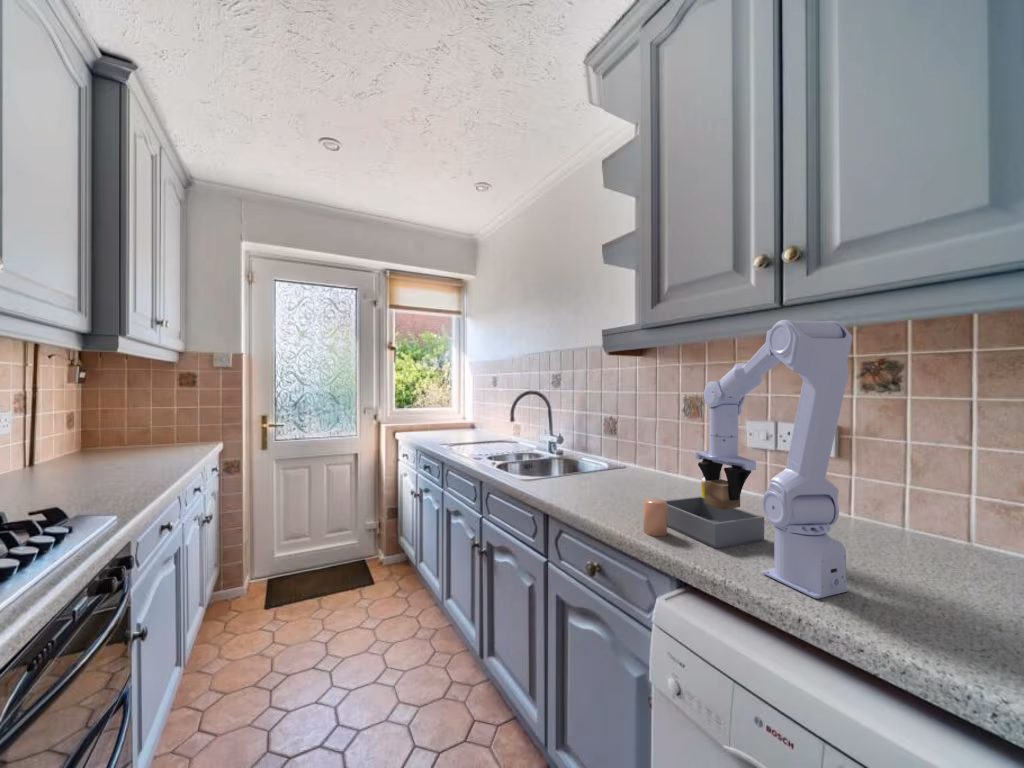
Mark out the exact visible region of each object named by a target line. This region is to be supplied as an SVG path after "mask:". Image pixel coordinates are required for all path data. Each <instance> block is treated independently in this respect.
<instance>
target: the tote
mask: <svg viewBox="0 0 1024 768" xmlns="http://www.w3.org/2000/svg"><path fill="white" fill-rule="evenodd" d="M664 500H665V499H664ZM665 501H666V502H667V528H669V529H672V530H674V531H676V532H678V533H680V534H682V535H684V536H687V537H688V538H691V539H693V540H694V541H696V542H699V543H701V544H703V545H706V546H707V547H710V548H712V549H714V550H716V549H717V550H718V549H723V548H729V547H735V546H739V545H746V544H753V543H759V542H765V517H764V516H761V515H758V514H755V513H752V512H749V511H746V510H744V509H741V508H739V507H737V508H730V509H720V508H717V507H714V506H711V505H708V504H705V498H704V497H702V495H701V496H692V497H684V498H675V499H666V500H665Z"/></svg>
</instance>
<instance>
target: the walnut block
mask: <svg viewBox="0 0 1024 768" xmlns="http://www.w3.org/2000/svg"><path fill="white" fill-rule="evenodd" d="M722 479H723V478H721V479H720V480H710V481H705V504H708V505H711V506H714V507H717V508H720V509H730V508H741V496H740V497H739V500H734V501H731V500H729V494H728V481H727V479H723V480H722Z"/></svg>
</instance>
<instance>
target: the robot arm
mask: <svg viewBox="0 0 1024 768" xmlns="http://www.w3.org/2000/svg"><path fill="white" fill-rule="evenodd" d="M852 341H853V335H852V334H851V333H850V331H848V329H847V328H846V326H844V324H843V323H841V322H840V321H837V320H827V321H824V320H823V321H822V320H819V321H816V320H811V321H810V320H790V319H781V320H779V321H777V322H776V323H775V324H774V325H773V326H772V328H771V329H769V330H767V331H766V337H765V343H764V344H763V345H762V346H761V347H760V348H759V349H758V350H757V351H756V352H755V354H754V355H753V356H752V357H751V358H750V359H749V360H748V361H747V362H737V363H735V364H734V365H733V367H732V368H731V369H730V370H729V371H728V372H727V373H726V374H725V375H723V376H722V377H721V379H719V380H716V381H715V380H712V381H711V380H710V381H708V382H707V384H706V386H705V387H704V391H703V398H704V402H705V404H706V405H707V407H709V430H708V431H709V450H703V449H702V450H701V449H700V450H695V460H701V461H699V462H697V465H698V467H699V469H700V470H701V472H702V474H703V478H704V477H705V480H706V481H710V480H719V478H720V472H721V473H722V469H723V470H724V473H725V476H726V481H728V494H729V500H731V501H734V500H739V497H740V498H741V493H742V490H743V487H744V485H745V482H746V481H747V479H748V478H749V476H750V475H751V473H752V471H756V470H757V460H753V459H750V458H746V457H742V456H740V455H739V416H740V415H741V413H742V407H743V405H744V402H745V398H746V397H745V396H747V395H748V394H749V393H750V392H752V391H753V390H754V389H756V388H757V387H758V386H759V385H760V384H761V382H762V379H763V377H762V375H764V374H766V373H767V372H769V371H770V370H771V369H773V368H774V367H776V366H777V365H778V364H780V363H783V364H784V365H785V366H786V367H787V368H788V369H790V370H791V371H792V372H794V373H797V374H798V375H799V377H800V378H801V379H802V383H801V389H800V393H799V399H798V404H797V409H796V415H795V420H794V424H793V425H794V426H793V430H792V436H791V439H790V446H789V451H788V455H787V459H786V460H787V462H786V465H785V468H784V469H783V470H781V471H780V472H779V473H777V474H776V475H775V476H773V477H772V478H771V479H770V480H769V485H768V487H767V490H765V492H764V494H763V496H762V500H761V505H762V511H763V513H764V516H765V517H766V519H767V520H768V522H769V524H770V525H772V526H773V527H774V529H773V530H774V531H773V532H774V534H773V535H774V540H773V541H774V546H773V547H774V548H773V549H774V550H773V551H774V553H773V555H774V558H773V561H774V565H773V566H774V567H772V568H771V567H770V568H767V569H763V570H761V573H762V574H763V575H765V576H767V577H769V578H771V579H774V580H775V581H778V582H780V583H782V584H784V585H786V586H788V587H790V588H792V589H795V590H796V591H799V592H801V593H803V594H806V595H807V596H810V597H811V598H813V599H823V598H826V597H829V596H830V597H831V596H834V595H837V594H842V593H846V592H850V587H849V586H847V552H846V547H845V546H844V544H843V543H842V542H841V541H839V540H838V539H835V538H833V537H831V536H830V535H829V534H828V533H829V532H831V526H832V525H833V526H834V524H835V523H837V521H838V519H839V517H840V507H839V503H838V502H839V501H838V496H839V492H840V490H839V488H837V487H836V486H835V485H834V483H833V482H832V481H830V480H829V479H828V478H826V477H827V473H828V472H827V471H828V468H829V463H830V458H831V453H832V449H833V445H834V441H835V437H836V431H837V427H838V422H839V419H840V414H841V408H842V404H843V400H844V395H845V391H846V385H847V382H848V375H849V366H848V359H849V354H850V350H851V345H852ZM723 465H724V466H729V467H724V468H723Z"/></svg>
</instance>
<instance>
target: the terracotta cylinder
mask: <svg viewBox="0 0 1024 768" xmlns="http://www.w3.org/2000/svg"><path fill="white" fill-rule="evenodd" d="M643 533H644V534H645V535H648V536H652V537H665V536H668V527H667V502H666V501H665V499H661V498H644V499H643Z"/></svg>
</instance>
